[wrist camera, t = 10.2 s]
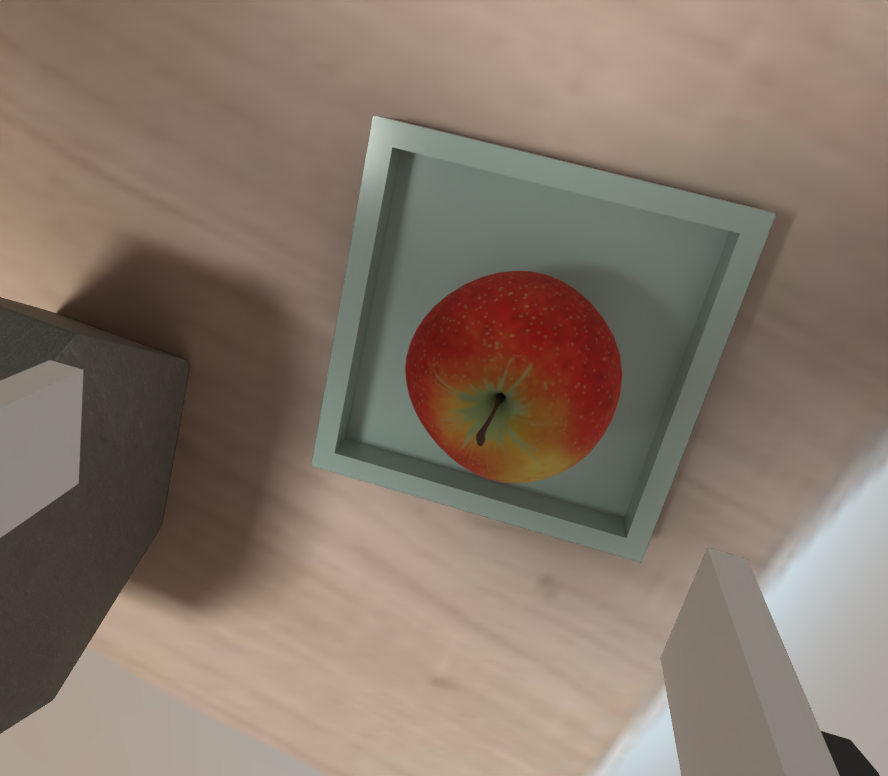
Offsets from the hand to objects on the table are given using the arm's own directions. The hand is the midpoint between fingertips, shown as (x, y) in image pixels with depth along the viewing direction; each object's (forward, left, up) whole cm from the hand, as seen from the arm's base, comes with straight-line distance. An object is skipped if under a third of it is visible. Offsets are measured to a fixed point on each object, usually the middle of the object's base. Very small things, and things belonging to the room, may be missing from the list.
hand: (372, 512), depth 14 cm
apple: (+2, -1, -19) cm, 19 cm away
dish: (+2, -1, -19) cm, 19 cm away
